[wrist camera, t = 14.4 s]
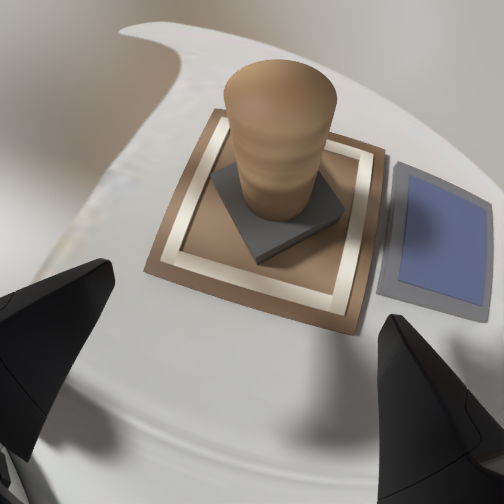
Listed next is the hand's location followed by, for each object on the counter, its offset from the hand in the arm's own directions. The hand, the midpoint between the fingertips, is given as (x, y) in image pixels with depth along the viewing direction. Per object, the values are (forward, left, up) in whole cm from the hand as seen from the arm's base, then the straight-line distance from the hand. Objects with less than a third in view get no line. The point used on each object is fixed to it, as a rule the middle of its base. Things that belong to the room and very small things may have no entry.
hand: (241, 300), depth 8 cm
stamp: (+7, +1, -9) cm, 11 cm away
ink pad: (+8, -12, -9) cm, 17 cm away
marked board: (+7, +1, -9) cm, 12 cm away
